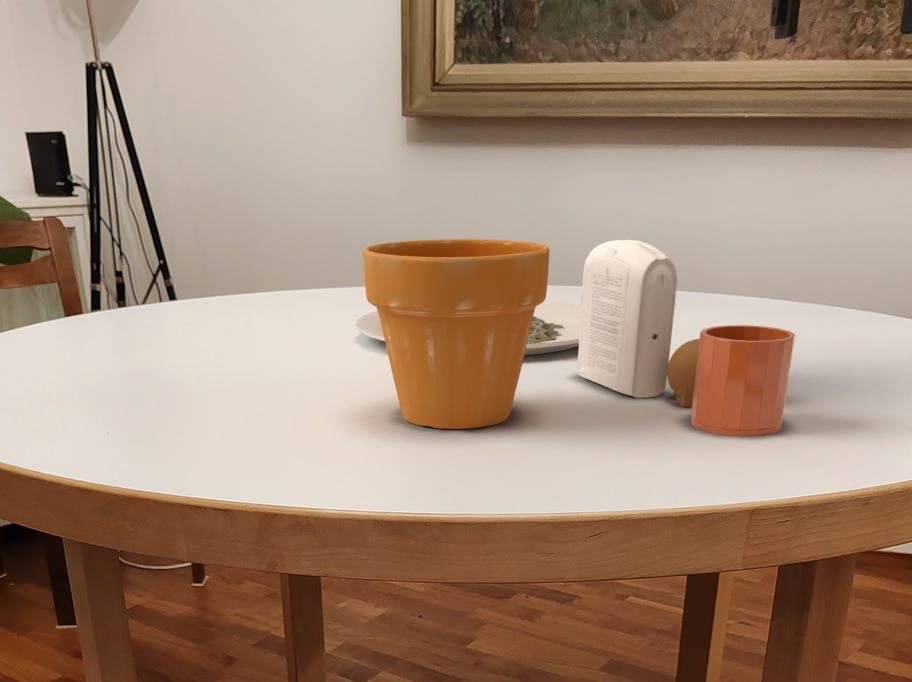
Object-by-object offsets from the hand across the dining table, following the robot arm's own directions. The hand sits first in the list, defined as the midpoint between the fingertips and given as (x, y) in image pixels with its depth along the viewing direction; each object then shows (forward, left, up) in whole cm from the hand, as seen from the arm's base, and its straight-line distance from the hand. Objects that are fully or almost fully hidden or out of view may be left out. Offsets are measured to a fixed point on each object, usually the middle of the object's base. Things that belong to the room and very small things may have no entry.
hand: (848, 35), depth 75 cm
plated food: (+26, -27, -27) cm, 46 cm away
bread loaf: (+8, +4, -27) cm, 28 cm away
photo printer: (+15, -2, -27) cm, 31 cm away
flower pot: (+30, +8, -27) cm, 41 cm away
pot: (+8, +11, -27) cm, 30 cm away
